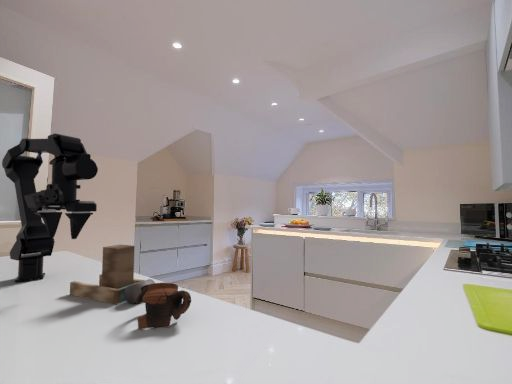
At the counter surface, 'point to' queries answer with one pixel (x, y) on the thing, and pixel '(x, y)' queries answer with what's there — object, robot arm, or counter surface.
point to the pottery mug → (162, 304)
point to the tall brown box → (118, 266)
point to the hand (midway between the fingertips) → (62, 238)
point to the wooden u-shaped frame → (109, 291)
